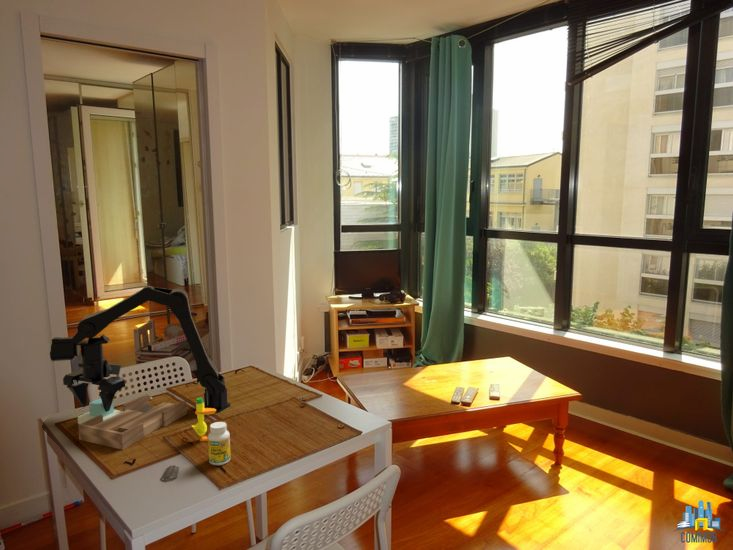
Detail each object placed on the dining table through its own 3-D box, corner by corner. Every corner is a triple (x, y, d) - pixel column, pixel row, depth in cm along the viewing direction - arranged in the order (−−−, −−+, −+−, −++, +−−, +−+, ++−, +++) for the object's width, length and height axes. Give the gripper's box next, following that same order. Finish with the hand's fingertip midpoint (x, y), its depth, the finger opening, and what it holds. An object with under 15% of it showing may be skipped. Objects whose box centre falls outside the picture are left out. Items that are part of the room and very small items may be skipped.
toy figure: (217, 436, 146) (216, 395, 144) (216, 442, 142) (214, 400, 140) (192, 437, 145) (191, 396, 143) (190, 443, 141) (188, 401, 139)
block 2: (179, 472, 129) (180, 465, 129) (175, 483, 123) (176, 476, 123) (164, 472, 128) (164, 464, 128) (159, 483, 122) (160, 475, 122)
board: (125, 418, 157) (125, 411, 156) (103, 429, 149) (103, 422, 149) (100, 413, 160) (100, 406, 160) (78, 423, 153) (77, 416, 153)
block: (113, 412, 156) (113, 399, 155) (101, 418, 152) (100, 405, 151) (102, 410, 157) (101, 397, 157) (90, 415, 153) (89, 402, 153)
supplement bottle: (230, 454, 135) (229, 419, 134) (230, 464, 130) (229, 428, 129) (209, 456, 134) (208, 421, 133) (207, 467, 129) (206, 430, 127)
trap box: (186, 414, 160) (186, 400, 160) (122, 449, 137) (121, 434, 137) (147, 406, 166) (146, 393, 165) (79, 439, 143) (78, 424, 142)
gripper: (138, 354, 157) (140, 403, 159) (91, 347, 164) (95, 395, 166) (107, 365, 147) (111, 417, 149) (60, 357, 153) (63, 408, 155)
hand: (95, 408), depth 155 cm, fingers open, 9 cm apart
